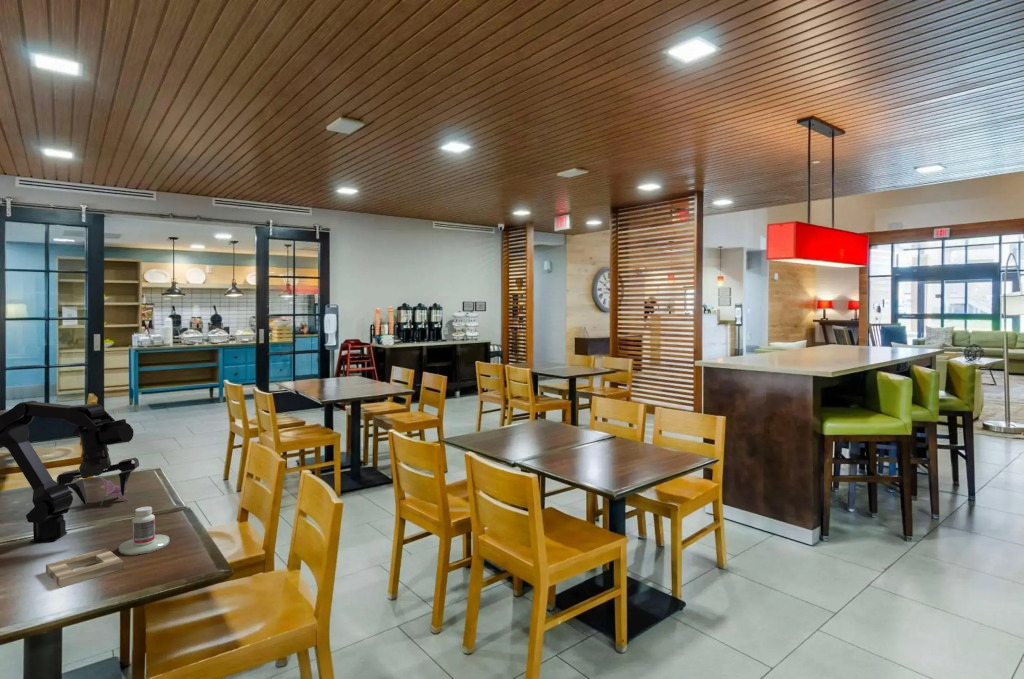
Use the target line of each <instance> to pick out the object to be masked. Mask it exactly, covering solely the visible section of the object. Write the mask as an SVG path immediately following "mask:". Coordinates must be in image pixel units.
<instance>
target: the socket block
mask: <svg viewBox="0 0 1024 679" xmlns="http://www.w3.org/2000/svg"><path fill="white" fill-rule="evenodd" d="M89 565H90V566H89ZM85 566H86V567H85ZM81 567H82V568H81ZM74 569H75V570H74ZM121 570H124V560H123V559H121V558H120V557H119V556H117V555H116V554H115V553H113V552H112V551H111V550H109V548H107V547H104V548H101V549H99V550H94V551H91V552H87V553H84V554H79V555H77V556H76V555H75V556H72V557H69V558H65V559H64V558H63V559H62V560H57V561H54V562H50V563H47V564H45V572H46V574H47V576H49V577H50V578H51V579H52V580H53V581H54V582H55V583H56V585H57V586H58V587H59V588H60V589H62V588H65V587H68V586H71V585H74V584H78V583H80V582H84V581H87V580H91V579H94V578H97V577H101V576H105V575H108V574H111V573H114V572H118V571H121Z"/></svg>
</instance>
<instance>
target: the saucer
mask: <svg viewBox="0 0 1024 679" xmlns="http://www.w3.org/2000/svg"><path fill="white" fill-rule="evenodd" d="M169 544H170V536H168V535H166V534H155V541H154V542H152V543H150V544H147V545H142V546H136V545H133V538H130V539H127V540H126V541H124V542H122V543H121V544H119V546H118V553H119V552H120V553H121V554H120V553H119V554H120V555H123V554H124V555H123V556H138V554H140V555H144V554H145V553H146V554H150V553H153V551H154V552H156V550H157V551H159V550H162V549H164V548H165V547H166V546H168V545H169ZM161 548H162V549H161Z"/></svg>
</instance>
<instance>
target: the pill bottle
mask: <svg viewBox="0 0 1024 679" xmlns="http://www.w3.org/2000/svg"><path fill="white" fill-rule="evenodd" d="M134 510H135V512H134V513H135V514H134V515H135V516H134V517H133V518H132V520H131V522H132V523H131V524H132V526H131V527H132V539H133V545H136V546H142V545H147V544H150V543H152V542H154V541H155V535H156V516H155V515H154V514H152V513H153V506H141V507H138V508H136V509H134Z"/></svg>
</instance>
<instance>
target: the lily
mask: <svg viewBox="0 0 1024 679" xmlns="http://www.w3.org/2000/svg"><path fill="white" fill-rule="evenodd" d="M97 477H98V478H99V479H101V481H102V482H103V485H100V488H102V489H104V490H105V492H106V493H105V496H104V497H103V498H102V501H100V502H101V503H100V505H99V506H100V507H101V506H102V505H103V502H104V500H105V499H106V497H108V496H112V495H113V496H115V497H116V498H117V497H118V499H119V498H122V499H124V500H125V501H127V500H128V499H127V497H125V495H124V496H122V494H121V486H119V485H117V484H114V483H113V482H112V481H111V480H110V479H109V480H107V479H106V478H105V477H102V476H101V475H98V476H97ZM125 493H128V490H127V489H126V490H125Z"/></svg>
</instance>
